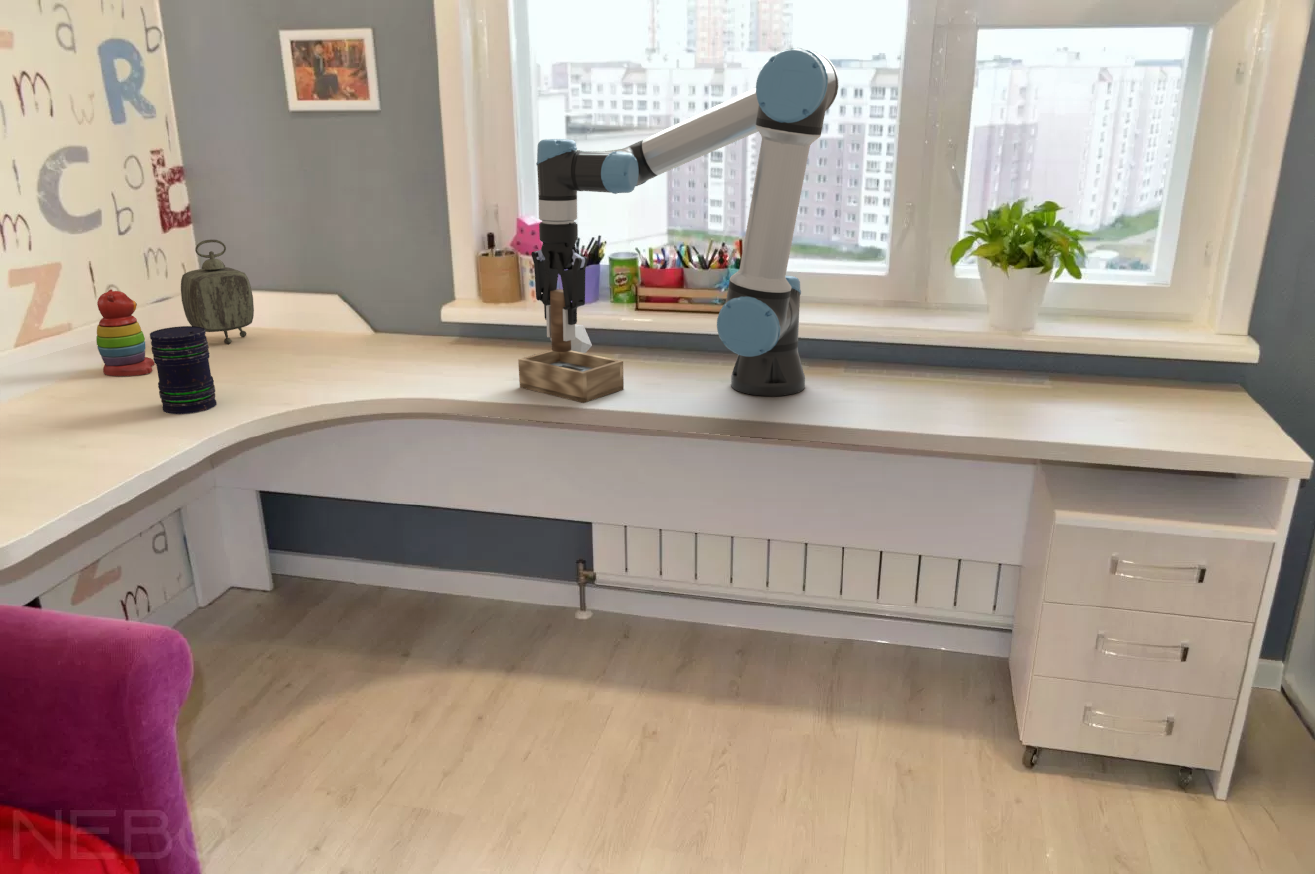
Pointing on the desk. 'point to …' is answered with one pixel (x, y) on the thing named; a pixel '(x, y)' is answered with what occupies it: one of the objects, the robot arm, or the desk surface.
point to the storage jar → (183, 369)
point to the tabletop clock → (217, 296)
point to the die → (580, 340)
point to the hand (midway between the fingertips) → (561, 337)
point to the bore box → (571, 375)
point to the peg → (558, 321)
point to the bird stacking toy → (121, 337)
